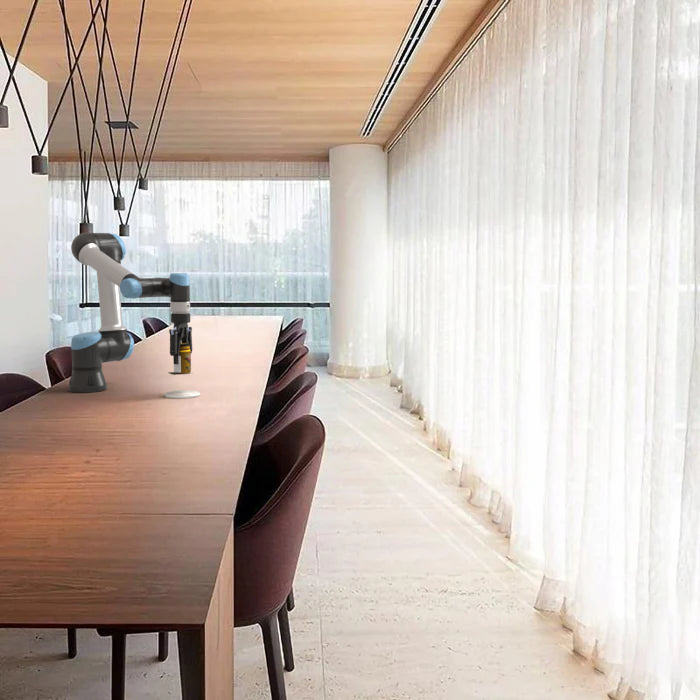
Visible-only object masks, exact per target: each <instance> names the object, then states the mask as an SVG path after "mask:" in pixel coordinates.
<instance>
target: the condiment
mask: <svg viewBox="0 0 700 700" xmlns="http://www.w3.org/2000/svg"><path fill="white" fill-rule="evenodd" d="M179 356H181V372H180V373H178V372H174V371H169V372H168V371H167V373H168V374H170V375H172V376H180V375H194V374H195V373H194V372H192V359H191V358H192V357H191V356H192V353H191V351H190V344H189V343H182V342H181V345H180V353H179Z"/></svg>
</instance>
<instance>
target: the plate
mask: <svg viewBox="0 0 700 700" xmlns="http://www.w3.org/2000/svg"><path fill="white" fill-rule="evenodd" d="M163 396H164V398H167V399H172V400H173V399H177V400H180V399H183V400H184V399H185V400H186V399H193V398H198V397H200V396H201V391H198V390H191V389H190V390H189V389H181V390H180V389H179V390H171V391H166V392H164V394H163Z"/></svg>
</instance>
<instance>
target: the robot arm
mask: <svg viewBox="0 0 700 700" xmlns="http://www.w3.org/2000/svg"><path fill="white" fill-rule="evenodd" d="M70 248H71V250H70V251H71V254H72V256H73V257H74V258H75V260H76V261H78V262H79V263H80V264H82V265H84V266H89V267H90V268H92V269H93V270H94V271H96V277H97V278H96V279H97V288H98V289H97V290H98V301H99V311H100V320H101V321H100V322H101V323H100V324H101V327H100V328H99V329H98V330H97V331H90V332H81V333H78V334H75V335H73V336H72V338H71V341H70V349H71V366H72V367H71V368H72V369H71V375H70V379H69V383H68V385H67V386H68V391H69V392H72V393H95V392H102V391H106V390H108V383H107V381H106V378H105V375H104V372H103V363H111V362H121V361H124V360H127V359H128V358H130V357H131V355H132V354H133V352H134V348H135V340H134V338H133V337H132V335H131V334H130V333H129V332H128V329H127V328H126V326H125V325H124V324H123V323H124V322H123V314H122V313H123V312H122V304H121V303H122V302H121V295H122V297H123V298H126V299H141V298H142V299H143V298H163V297H164V298H170V299H169V301H170V303H169V304H170V313H171V314H170V322H171V323H172V324H173V328H170V329H169V330H168V333H169V355H170V356H171V357H173V360H172V361H173V372H178V373H180V372H181V356H179V353H180V345H181V343H189V344H190V351H191V354H193V337H192V334H193V333H192V332H193V327H192V326H189V324H188V323H191V313H190V312H191V283H190V275H189V274H188V273H186V272H185V273H184V272H176V273H175V272H171V273H170V274H169V277H161V276H160V277H149V278H147V277H143V278H142V277H139V276H138V275H136V274H135V273H133V272H132V271H130V270H129V269H127V268H126V267H124V266H123V265H122V261H123V259H124V258H125V256H126V253H127V249H126V248H127V247H126V244H125V242H124V240H123V239H122V238H121V237H120V236H119V235H118V234H115V233H110V232H83V233H80V234H77V236H75V237H74V238H73V239H72V242H71V245H70Z"/></svg>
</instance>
